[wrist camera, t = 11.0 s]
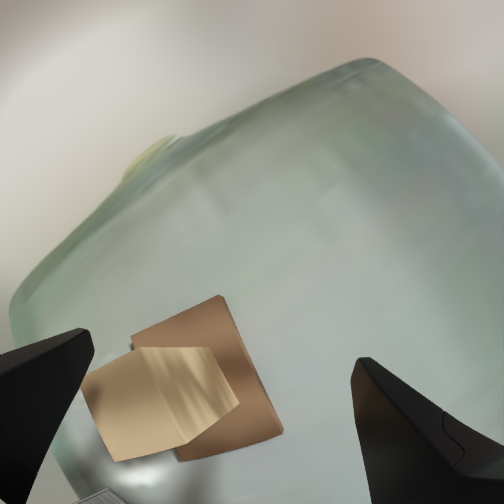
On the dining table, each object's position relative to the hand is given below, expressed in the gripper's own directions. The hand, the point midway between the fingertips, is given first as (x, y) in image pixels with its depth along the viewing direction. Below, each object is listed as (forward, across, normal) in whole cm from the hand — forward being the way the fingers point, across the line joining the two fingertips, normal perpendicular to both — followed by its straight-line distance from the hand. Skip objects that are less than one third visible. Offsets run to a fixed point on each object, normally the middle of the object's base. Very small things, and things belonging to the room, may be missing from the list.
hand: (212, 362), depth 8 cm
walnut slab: (+11, +3, +11) cm, 16 cm away
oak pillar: (+9, +3, +10) cm, 14 cm away
